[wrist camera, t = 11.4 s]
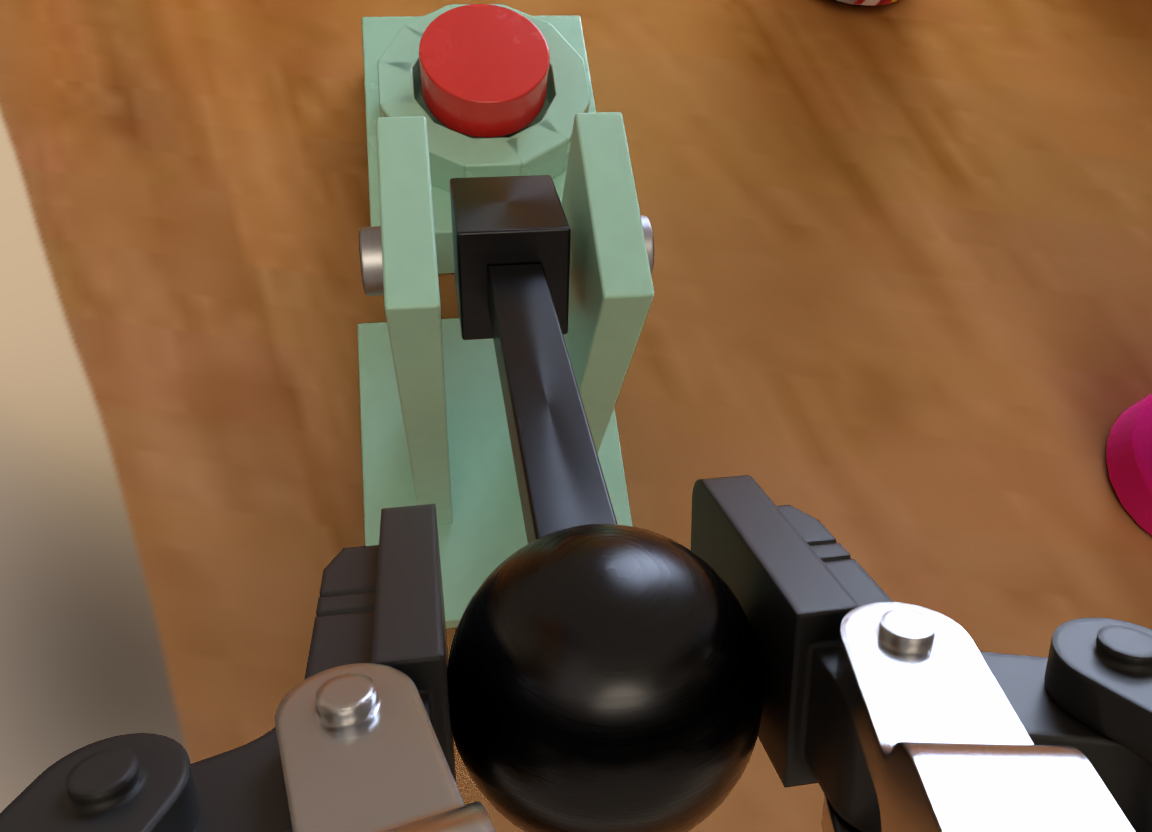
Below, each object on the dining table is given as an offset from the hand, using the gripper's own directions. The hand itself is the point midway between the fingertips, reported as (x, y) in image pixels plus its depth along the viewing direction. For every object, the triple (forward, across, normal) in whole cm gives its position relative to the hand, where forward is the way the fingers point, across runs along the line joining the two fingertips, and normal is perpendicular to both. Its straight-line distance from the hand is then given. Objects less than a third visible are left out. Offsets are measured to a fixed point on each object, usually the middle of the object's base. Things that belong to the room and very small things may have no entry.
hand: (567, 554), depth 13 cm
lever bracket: (+17, 0, +6) cm, 19 cm away
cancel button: (+23, -1, -6) cm, 24 cm away
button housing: (+26, -1, -3) cm, 27 cm away
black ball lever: (+3, 0, +1) cm, 3 cm away
